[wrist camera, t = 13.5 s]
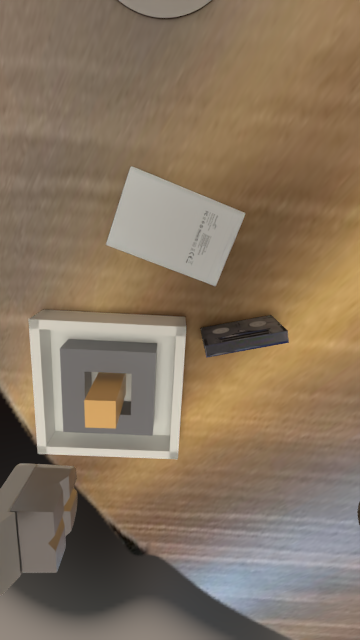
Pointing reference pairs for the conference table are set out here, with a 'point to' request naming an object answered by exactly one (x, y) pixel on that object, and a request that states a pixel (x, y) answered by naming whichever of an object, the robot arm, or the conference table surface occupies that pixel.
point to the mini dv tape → (243, 335)
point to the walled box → (109, 357)
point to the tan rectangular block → (105, 400)
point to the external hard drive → (174, 227)
